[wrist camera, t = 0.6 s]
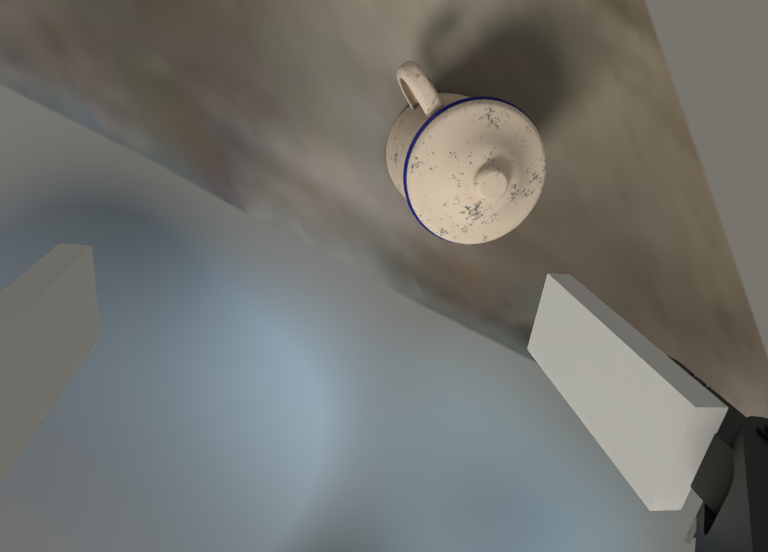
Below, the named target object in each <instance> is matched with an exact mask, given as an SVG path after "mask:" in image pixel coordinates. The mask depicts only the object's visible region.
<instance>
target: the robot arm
mask: <svg viewBox="0 0 768 552" xmlns="http://www.w3.org/2000/svg"><path fill="white" fill-rule="evenodd" d="M99 338H100V326H99V317H98V307H97V296H96V287H95V276H94V266H93V256H92V246H86V245H70V244H59V245H58V246H56V248H54V249H53V250H52V251H50V252H49V253H48V254H47V255H46V256H44V257H43V258H42V259H41V260H40V261H38V262H37V263H36V264H35V265H34V266H32V267H31V268H30V269H29V270H28V271H26V272H25V273H24V274H23V275H22V276H20V277H19V278H18V279H17V280H15V281H14V282H13V283H12V284H11V285H9V286H8V287H7V288H6V289H5V290H3V291H2V292H1V293H0V483H1V482H2V480H3V479H4V477H5V476H6V474H7V473H8V471H9V470H10V468H11V467H12V466H13V464H14V463H15V461H16V460H17V458H18V457H19V455H20V454H21V452H22V451H23V449H24V448H25V446H26V445H27V444H28V442H29V441H30V439H31V438H32V436H33V435H34V433H35V432H36V430H37V429H38V427H39V426H40V424H41V423H42V422H43V420H44V419H45V417H46V416H47V414H48V413H49V411H50V410H51V408H52V407H53V405H54V404H55V402H56V401H57V399H58V398H59V397H60V395H61V394H62V392H63V391H64V389H65V388H66V386H67V385H68V383H69V382H70V380H71V379H72V377H73V376H74V374H75V373H76V372H77V370H78V368H79V367H80V366H81V364H82V363H83V361H84V360H85V358H86V357H87V355H88V354H89V352H90V351H91V349H92V348H93V347H94V345H95V344H96V342H97V341H98V339H99ZM527 349H528V351H529V352H530V353H531V355H532V356H533V357H534V359H535V360H536V361H537V363H538V364H539V365H540V367H541V368H542V369H543V371H544V372H545V373H546V374H547V376H548V377H549V378H550V379H551V381H552V382H553V384H554V385H555V386H556V388H557V389H558V390H559V391H560V393H561V394H562V396H563V397H564V398H565V399H566V401H567V402H568V403H569V405H570V406H571V407H572V409H573V410H574V411H575V413H576V414H577V415H578V417H579V418H580V419H581V421H582V422H583V423H584V424H585V426H586V427H587V428H588V430H589V431H590V432H591V434H592V435H593V436H594V438H595V439H596V440H597V442H598V443H599V444H600V446H601V447H602V448H603V449H604V451H605V452H606V453H607V455H608V456H609V457H610V459H611V460H612V461H613V463H614V464H615V465H616V467H617V468H618V469H619V470H620V472H621V473H622V475H623V476H624V477H625V478H626V480H627V481H628V482H629V484H630V485H631V486H632V488H633V489H634V490H635V492H636V493H637V494H638V495H639V497H640V498H641V500H642V501H643V502H644V503H645V505H646V506H647V507H648V509H649V510H650V511H661V510H681V508H682V506H683V504H684V502H685V500H686V498H687V495H688V493H689V491H690V489H691V488H692V489H693V490H694V491H695V492H696V493H697V494H698V496H699V497H700V498H701V499H702V500H703V503H702V505H701V507H700V509H699V511H698V513H697V515H696V517H695V519H694V521H693V523H692V526H691V528H690V530H689V532H688V534H687V536H686V539H685V540H684V541H686V542H688V543H690V542H691V540H692V539H693V538H694V537H696V545H695V552H768V419H767V418H763V417H755V416H750V417H745V416H744V415H743V414H742V413H740V412H739V411H738V410H737V409H736V408H734V407H733V406H732V405H731V404H730V403H728V402H727V401H726V400H725V399H723V398H722V397H721V396H720V395H719V394H717V393H716V392H715V391H714V390H713V389H711V388H710V387H706V384H705V383H704V382H703V381H702V380H700V379H699V378H698V377H694V374H693V373H692V372H691V371H690V370H688V369H687V368H686V367H685V366H684V365H682V364H681V363H680V362H678V361H677V360H675V359H673V358H671V357H669V356H667V355H666V354H664V353H663V352H662V351H661V350H659V349H658V348H657V347H656V346H655V345H653V344H652V343H651V342H650V341H649V340H647V339H646V338H645V337H644V336H643V335H641V334H640V333H639V332H638V331H637V330H636V329H634V328H633V327H632V326H631V325H630V324H628V323H627V322H626V321H625V320H624V319H622V318H621V317H620V316H619V315H618V314H616V313H615V312H614V311H613V310H612V309H610V308H609V307H608V306H607V305H606V304H604V303H603V302H602V301H601V300H600V299H598V298H597V297H596V296H595V295H594V294H593V293H591V292H590V291H589V290H588V289H587V288H585V287H584V286H583V285H582V284H581V283H579V282H578V281H577V280H576V279H575V278H573V277H572V276H571V275H567V274H550V273H548V274H547V278H546V281H545V285H544V289H543V293H542V296H541V300H540V304H539V307H538V311H537V315H536V318H535V322H534V326H533V330H532V333H531V337H530V341H529V344H528V348H527Z"/></svg>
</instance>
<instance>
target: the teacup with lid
mask: <svg viewBox="0 0 768 552" xmlns="http://www.w3.org/2000/svg"><path fill="white" fill-rule="evenodd" d="M397 79H398V82H399V85H400V87H401V90H402V92H403V94H404V96H405V97H406V99H407V101H408V103H409V105H410V106H409V107H407V108H406V109H405V110H404V111H403V112H402V114H401V115H400V116H399V117H398V119H397V120H396V122H395V123H394V125H393V127H392V129H391V132H390V134H389V138H388V142H387V148H386V160H387V166H388V171H389V174H390V176H391V178H392V181H393V182H394V184H395V186H396V187H397V188H398V190H399V191H400V192H401V194H402V195H403V196H404V197H405V199H406V200H407V202H408V205H409V207H410V209H411V211H412V213H413V215H414V216H415V217H416V219H417V220H418V221H419V223H420V224H421V225H422V226H423V227H424V228H425V229H427V230H428V231H429V232H431V233H432V234H434V235H435V236H437V237H439V238H441V239H443V240H446V241H449V242H453V243H459V244H478V243H484V242H488V241H491V240H494V239H497V238H499V237H501V236H503V235H505V234H506V233H508V232H510V231H511V230H513V229H514V228H515V227H516V226H518V225H519V224H520V223H521V222H522V221H523V220H524V219H525V218H526V217H527V215H528V214H529V213H530V212H531V210H532V209H533V207H534V206H535V204H536V202H537V200H538V198H539V196H540V194H541V191H542V188H543V185H544V181H545V176H546V153H545V148H544V144H543V141H542V139H541V136H540V134H539V132H538V130H537V128H536V126H535V125H534V123H533V122H532V120H531V119H530V118H529V117H528V116H527V115H526V114H525V113H524V112H523V111H522V110H520V109H519V108H518V107H516V106H514V105H513V104H511V103H509V102H506V101H504V100H501V99H497V98H492V97H468V96H464V95H459V94H454V93H437V91H436V89H435V87H434V86H433V84H432V82H431V81H430V79H429V78H428V76H427V75H426V73H425V72H424V71H423V69H422V68H421V67H420V66H419V65H418V64H417V63H415V62H414V61H407V62H405V63H404V64H402V65H401V66H400V67H399V68H398V70H397Z"/></svg>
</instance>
